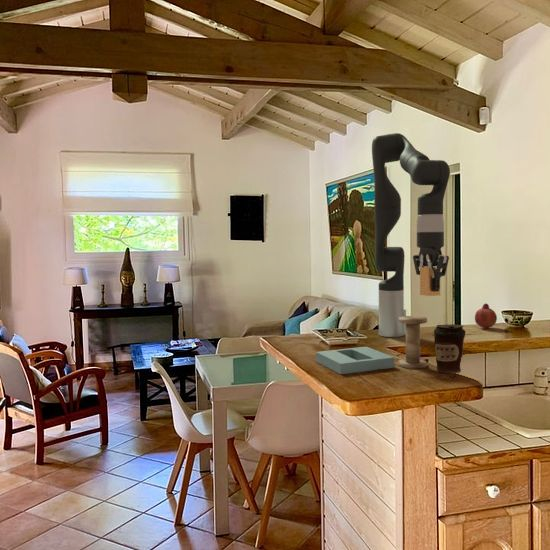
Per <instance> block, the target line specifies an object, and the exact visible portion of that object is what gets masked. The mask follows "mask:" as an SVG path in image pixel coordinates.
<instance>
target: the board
mask: <svg viewBox="0 0 550 550" xmlns="http://www.w3.org/2000/svg"><path fill="white" fill-rule="evenodd" d="M315 357H316V358H315V360H316V363H318V364H320V365H322V366H324V367H325V368H327V369H330V370H331V371H334V372H336V373H337V374H339V375H346V374H354V373H355V374H356V373H362V372H369V371H379V370H385V369H386V370H387V369H394V368H396V367H395V357H394V356H392V355H390V354H387V353H385V352H381V351H379V350H376V349H373V348H371V347H369V346H359V347H350V348H349V347H348V348H342V349H340V348H339V349H331V350H330V349H329V350H324V351H322V350H321V351H316V353H315ZM378 369H379V370H378Z"/></svg>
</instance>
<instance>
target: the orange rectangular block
mask: <svg viewBox="0 0 550 550" xmlns="http://www.w3.org/2000/svg"><path fill="white" fill-rule="evenodd" d="M419 271H420V275H419V295H420V296H426V297H433V296H441V288H440V289H439V291H436V292H433V291H432V290H431V278H432V276H431V270H430V268H429V267H420V268H419ZM435 273H436V270H435Z"/></svg>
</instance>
